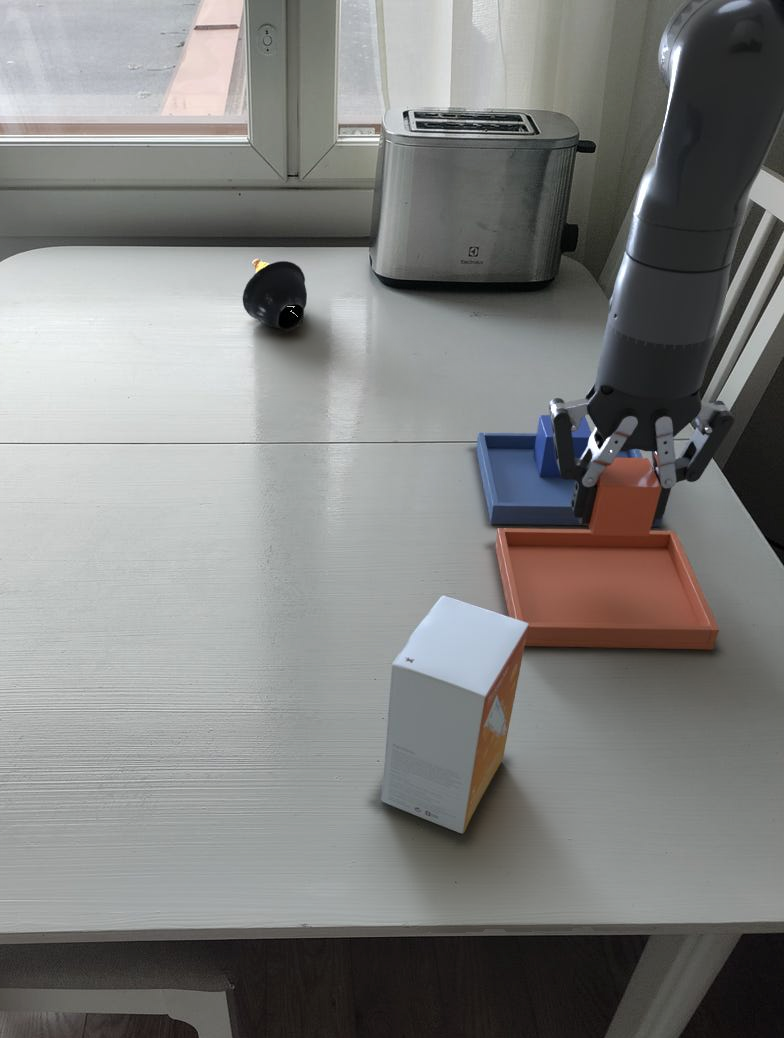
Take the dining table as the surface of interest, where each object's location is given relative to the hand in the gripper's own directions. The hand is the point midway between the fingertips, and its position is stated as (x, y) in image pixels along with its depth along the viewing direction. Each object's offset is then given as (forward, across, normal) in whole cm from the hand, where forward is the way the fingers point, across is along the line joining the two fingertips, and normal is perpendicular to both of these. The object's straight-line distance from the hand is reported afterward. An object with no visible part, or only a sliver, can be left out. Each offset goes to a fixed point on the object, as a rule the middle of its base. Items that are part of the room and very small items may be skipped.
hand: (614, 518), depth 82 cm
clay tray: (+8, 0, 0) cm, 8 cm away
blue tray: (+8, 0, +18) cm, 20 cm away
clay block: (0, 0, 0) cm, 0 cm away
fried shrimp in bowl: (+8, -32, +62) cm, 70 cm away
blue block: (+7, 0, +21) cm, 22 cm away
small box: (+8, -15, -22) cm, 28 cm away
